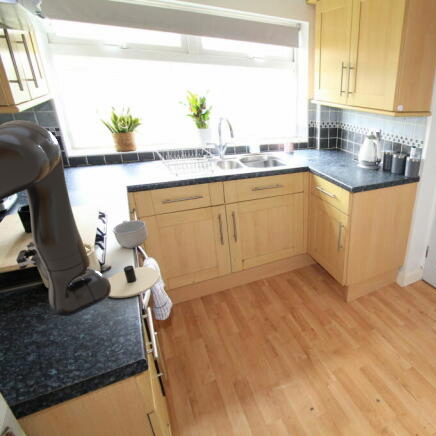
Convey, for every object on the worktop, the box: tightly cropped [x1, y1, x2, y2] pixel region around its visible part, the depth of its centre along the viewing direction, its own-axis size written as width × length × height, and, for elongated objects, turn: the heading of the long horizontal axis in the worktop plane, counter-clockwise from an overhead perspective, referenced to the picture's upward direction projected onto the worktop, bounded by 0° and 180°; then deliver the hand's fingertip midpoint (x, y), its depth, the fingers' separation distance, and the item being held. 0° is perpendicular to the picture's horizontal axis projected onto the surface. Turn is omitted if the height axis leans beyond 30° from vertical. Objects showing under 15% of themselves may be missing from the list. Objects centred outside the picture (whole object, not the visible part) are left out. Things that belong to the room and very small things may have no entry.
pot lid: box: [107, 265, 161, 299], centre depth 100 cm, size 16×16×6 cm
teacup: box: [112, 219, 149, 249], centre depth 123 cm, size 14×11×8 cm
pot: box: [36, 242, 101, 289], centre depth 102 cm, size 15×20×8 cm
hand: (43, 242), depth 88 cm, fingers closed on pepper mill, 4 cm apart
